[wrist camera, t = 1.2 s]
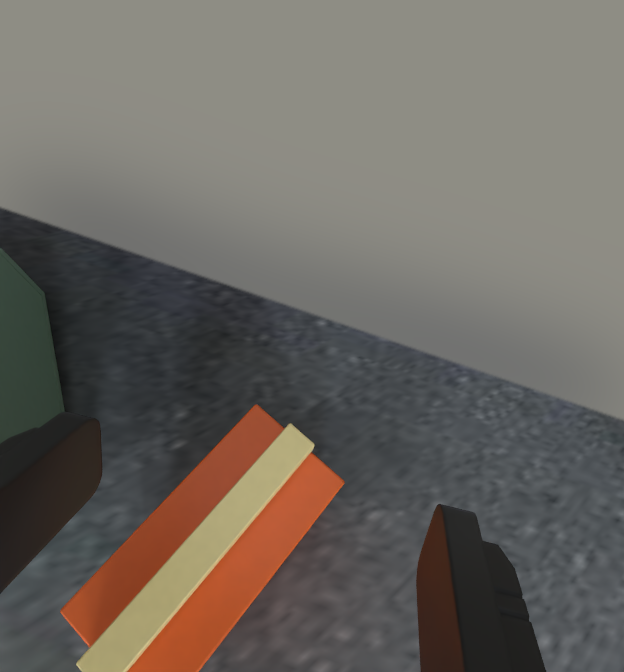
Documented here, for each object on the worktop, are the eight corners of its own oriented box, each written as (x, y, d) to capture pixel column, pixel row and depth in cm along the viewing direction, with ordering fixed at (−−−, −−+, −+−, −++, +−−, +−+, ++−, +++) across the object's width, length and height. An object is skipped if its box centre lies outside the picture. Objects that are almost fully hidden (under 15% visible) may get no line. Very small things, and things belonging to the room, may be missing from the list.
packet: (150, 581, 23) (39, 620, 13) (266, 451, 27) (256, 393, 16) (208, 645, 22) (142, 746, 12) (321, 501, 26) (351, 476, 15)
